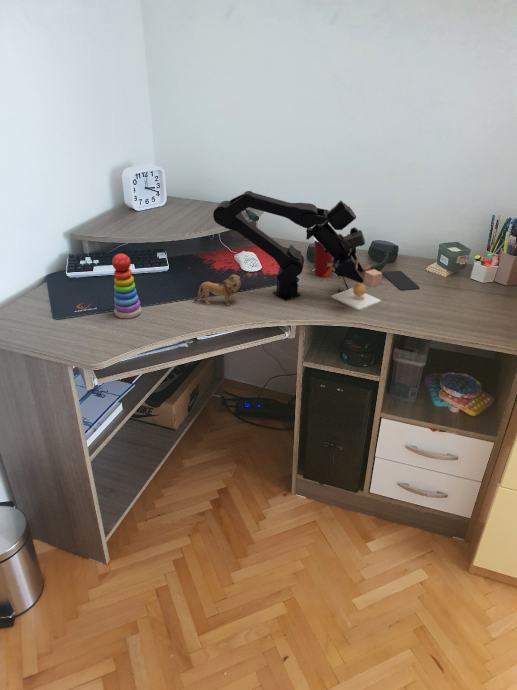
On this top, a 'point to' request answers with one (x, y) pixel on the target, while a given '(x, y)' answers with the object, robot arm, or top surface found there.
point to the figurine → (359, 286)
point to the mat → (356, 299)
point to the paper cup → (322, 261)
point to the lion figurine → (220, 289)
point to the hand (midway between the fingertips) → (362, 276)
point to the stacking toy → (125, 288)
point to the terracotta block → (373, 277)
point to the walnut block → (365, 268)
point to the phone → (400, 280)
